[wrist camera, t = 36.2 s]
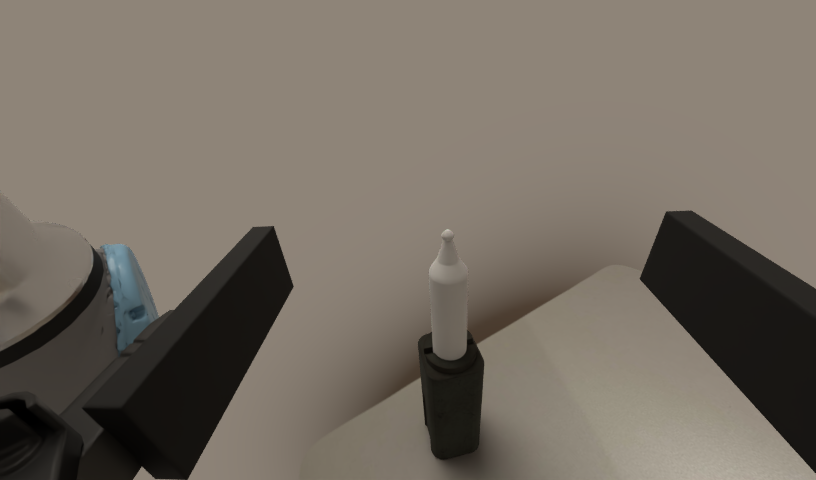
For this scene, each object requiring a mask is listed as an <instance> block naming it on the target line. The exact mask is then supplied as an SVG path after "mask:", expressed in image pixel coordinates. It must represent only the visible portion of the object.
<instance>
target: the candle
mask: <svg viewBox="0 0 816 480" xmlns="http://www.w3.org/2000/svg"><path fill="white" fill-rule="evenodd" d="M453 237H454V234H453V232H452V231H451V230H449V229H447V230H445V231H444V232H443V233H442V238H443V242H442V245H441V248H440V251H439V254H438V257H437V259H436V260H435V261H434V262H433V264H432V265H431V266H430V269H429V287H430V305H431V322H432V332H431V333H429V334H426V335H424V336H422V337H421V338H420V339H419V341H418V350H419V360H420V372H421V383H422V394H423V405H424V416H425V425H427V426H428V430H429V434H430V439H431V450H432V452H433V454H434V455H435V456H436V457H437V458H439V459H448V458H452V457H456V456H460V455H464V454H468V453H471V452H474V451H475V450H476V449H477V448H478V445H479V434H480V419H481V404H482V389H483V374H484V360H483V357H482V355H481V353H480V351H479V349H478V347H477V345H476V343H475V341H474V339H473V337H472V335H471V333H470V332H469V331H468V330H467V309H468V269H467V266H466V265H465V264H464V263H463V261H462V260H461V259H460V258H459V256H458V254H457V251H456V248H455V245H454V242H453V240H452V239H453Z"/></svg>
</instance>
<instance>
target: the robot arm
mask: <svg viewBox="0 0 816 480" xmlns="http://www.w3.org/2000/svg"><path fill="white" fill-rule="evenodd" d="M640 280H641V281H642V282H643V283H644V284H645V285H646V287H647V288H648V289H649V290H650V291H651V292H652V293H653V294H654V295H655V297H656V298H657V299H658V300H659V301H660V302H661V303H662V304H663V305H664V306H665V308H666V309H667V310H668V311H669V312H670V313H671V314H672V315H673V316H674V317H675V319H676V320H677V321H678V322H679V323H680V324H681V325H682V326H683V327H684V329H685V330H686V331H687V332H688V333H689V334H690V335H691V336H692V337H693V338H694V340H695V341H696V342H697V343H698V344H699V345H700V346H701V347H702V348H703V349H704V351H705V352H706V353H707V354H708V355H709V356H710V357H711V358H712V359H713V361H714V362H715V363H716V364H717V365H718V366H719V367H720V368H721V369H722V370H723V372H724V373H725V374H726V375H727V376H728V377H729V378H730V379H731V380H732V382H733V383H734V384H735V385H736V386H737V387H738V388H739V389H740V390H741V391H742V393H743V394H744V395H745V396H746V397H747V398H748V399H749V400H750V401H751V402H752V404H753V405H754V406H755V407H756V408H757V409H758V410H759V411H760V412H761V414H762V415H763V416H764V417H765V418H766V419H767V420H768V421H769V422H770V423H771V425H772V426H773V427H774V428H775V429H776V430H777V431H778V432H779V433H780V434H781V436H782V437H783V438H784V439H785V440H786V441H787V442H788V443H789V444H790V446H791V447H792V448H793V449H794V450H795V451H796V452H797V453H798V454H799V455H800V457H801V458H802V459H803V460H804V461H805V462H806V463H807V464H808V465H809V466H810V468H811V469H812V470H813V471H814V472H815V473H816V289H815V288H814V287H812V286H810V285H809V284H807V283H806V282H804V281H802V280H801V279H799V278H798V277H796V276H795V275H793V274H791V273H790V272H788V271H787V270H785V269H783V268H781V267H780V266H779V265H777V264H775V263H774V262H772V261H771V260H769V259H767V258H766V257H764V256H763V255H761V254H760V253H758V252H756V251H755V250H753V249H751V248H750V247H748V246H747V245H745V244H744V243H742V242H740V241H739V240H737V239H736V238H734V237H733V236H731V235H729V234H727V233H726V232H725V231H723V230H721V229H720V228H718V227H717V226H715V225H713V224H712V223H710V222H709V221H707V220H706V219H704V218H702V217H700V216H699V215H697V214H696V213H694V212H693V211H672V212H671V211H669V212H666V213H665V216H664V219H663V221H662V224H661V226H660V228H659V231H658V234H657V236H656V239H655V242H654V244H653V246H652V249H651V251H650V254H649V257H648V259H647V262H646V264H645V267H644V269H643V272H642V274H641V277H640ZM292 289H293V283H292V280H291V277H290V274H289V271H288V268H287V265H286V262H285V259H284V256H283V253H282V250H281V247H280V244H279V241H278V238H277V235H276V232H275V229H274V226H268V227H253V228H252V229H251V230H250V231H249V232H248V233H247V234H246V235H245V236H244V237H243V238H242V239H241V240H240V241H239V242H238V243H237V244H236V246H235V247H234V248H233V249H232V250H231V251H230V252H229V253H228V254H227V255H226V256H225V257H224V258H223V259H222V260H221V261H220V263H218V264H217V266H216V267H215V268H214V269H213V270H212V271H211V272H210V273H209V274H208V275H207V276H206V277H205V278H204V279H203V280H202V281H201V282H200V283H199V284H198V286H197V287H196V288H195V289H194V290H193V291H192V292H191V293H190V294H189V295H188V296H187V297H186V298H185V299H184V300H183V301H182V303H180V304H179V306H178V307H177V308H176V309H175V310H170V311H168V312H167V313H165V314H164V315H162V316H161V317H159V316H158V313H157V310H156V307H155V304H154V301H153V298H152V295H151V293H150V290H149V288H148V285H147V283H146V280H145V277H144V275H143V273H142V270H141V268H140V266H139V264H138V262H137V259H136V257H135V256H134V254H133V252H132V251H131V249H130V248H129V247H127V246H126V245H123V244H114V245H108V244H106V245H103V246H101V247H100V249H96V250H94V248H93V247H92V246H91V245H90V244H89V243H88V242H87V240H86V239H85V238H84V237H83V236H82V235H81V234H79V233H78V232H76V231H75V230H73V229H71V228H68V227H66V226H63V225H59V224H56V223H49V222H40V221H30V220H29V219H28V218H27V217H26V216H25V215H24V214H23V213H22V212H21V211H20V210H19V209H18V208H17V207H16V206H15V205H14V204H13V203H12V202H11V201H10V200H9V199H8V198H7V197H6V196H5V195H4V194H3V193H2V192H1V191H0V480H133V479H134V477H135V476H136V474H137V473H138V471H139V470H140V468H141V467H143V468H144V469H146V471H148V472H149V473H150V474H151V475H152V476H153V477H154V478H155V479H178V480H179V479H180V480H187V479H188V478H189V476H190V474H191V472H192V470H193V469H194V467H195V465H196V463H197V461H198V459H199V458H200V456H201V454H202V452H203V450H204V449H205V447H206V445H207V443H208V441H209V440H210V438H211V436H212V434H213V432H214V430H215V429H216V427H217V425H218V423H219V421H220V420H221V418H222V416H223V414H224V412H225V410H226V409H227V407H228V405H229V403H230V401H231V400H232V398H233V396H234V394H235V392H236V390H237V388H238V387H239V385H240V383H241V381H242V380H243V377H244V376H245V374H246V372H247V370H248V369H249V367H250V365H251V363H252V361H253V359H254V358H255V356H256V354H257V352H258V350H259V349H260V347H261V345H262V343H263V341H264V340H265V338H266V336H267V334H268V332H269V330H270V328H271V327H272V325H273V323H274V321H275V320H276V318H277V316H278V314H279V312H280V310H281V309H282V307H283V305H284V303H285V301H286V300H287V298H288V296H289V294H290V292H291V290H292Z"/></svg>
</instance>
